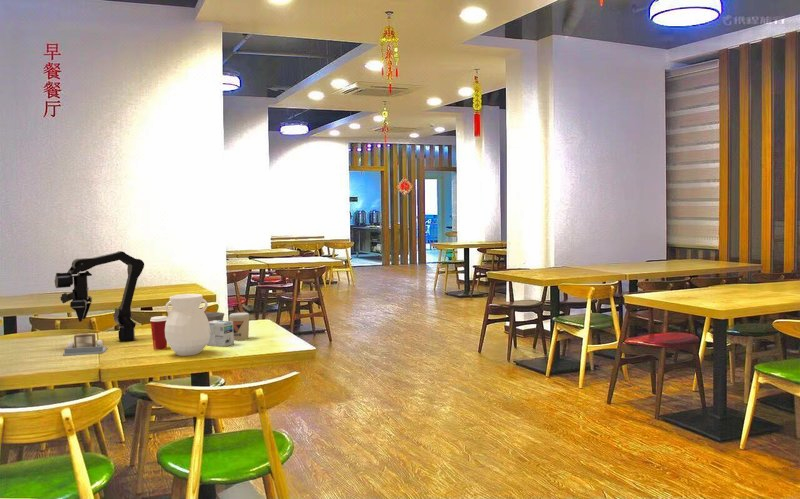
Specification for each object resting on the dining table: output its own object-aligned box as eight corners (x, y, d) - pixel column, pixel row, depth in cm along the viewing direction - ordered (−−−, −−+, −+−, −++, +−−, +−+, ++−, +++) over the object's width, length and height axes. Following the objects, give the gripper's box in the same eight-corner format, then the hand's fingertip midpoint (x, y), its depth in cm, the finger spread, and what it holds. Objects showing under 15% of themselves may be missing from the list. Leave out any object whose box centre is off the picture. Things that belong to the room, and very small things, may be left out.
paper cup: (172, 347, 305) (171, 316, 305) (161, 350, 298) (160, 318, 297) (158, 346, 308) (157, 315, 307) (146, 349, 301) (145, 318, 300)
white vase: (167, 360, 278) (165, 299, 276) (163, 352, 295) (161, 294, 293) (214, 355, 285) (212, 296, 284) (208, 347, 302) (206, 291, 301)
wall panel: (107, 348, 305) (107, 337, 305) (103, 353, 294) (102, 342, 294) (68, 351, 301) (68, 340, 301) (63, 355, 290) (62, 344, 290)
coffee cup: (225, 340, 320) (224, 314, 319) (237, 336, 328) (236, 312, 328) (242, 341, 316) (241, 315, 316) (254, 337, 325) (253, 312, 324)
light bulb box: (234, 344, 309) (233, 320, 309) (224, 347, 303) (224, 323, 303) (215, 342, 314) (215, 319, 313) (206, 345, 308) (205, 321, 307)
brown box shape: (95, 349, 300) (95, 333, 299) (94, 350, 297) (93, 334, 296) (76, 350, 298) (75, 334, 297) (74, 351, 295) (73, 335, 294)
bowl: (234, 332, 342) (233, 312, 341) (202, 339, 324) (201, 318, 324) (205, 329, 353) (204, 310, 352) (173, 335, 335) (172, 315, 335)
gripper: (65, 285, 318) (67, 318, 319) (56, 289, 300) (58, 324, 301) (91, 284, 321) (93, 316, 321) (84, 287, 303) (85, 322, 304)
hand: (82, 320), depth 312 cm, fingers open, 9 cm apart
